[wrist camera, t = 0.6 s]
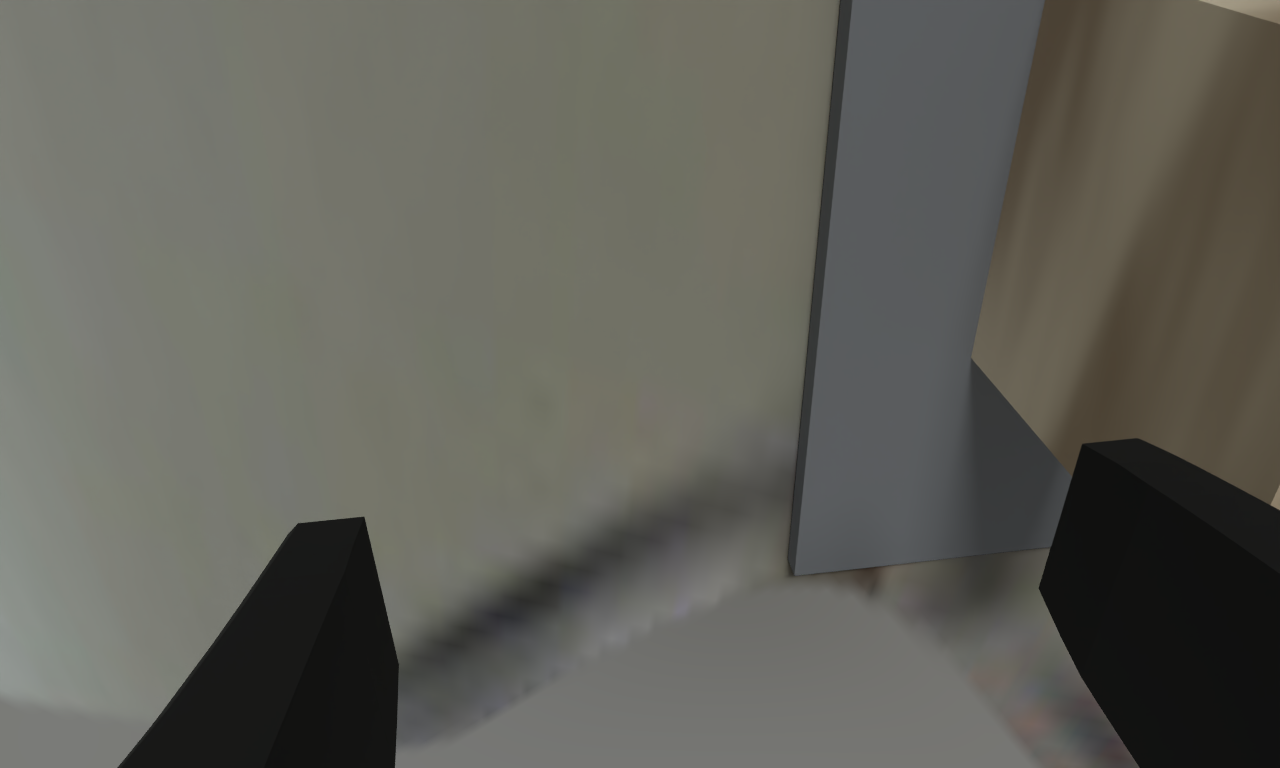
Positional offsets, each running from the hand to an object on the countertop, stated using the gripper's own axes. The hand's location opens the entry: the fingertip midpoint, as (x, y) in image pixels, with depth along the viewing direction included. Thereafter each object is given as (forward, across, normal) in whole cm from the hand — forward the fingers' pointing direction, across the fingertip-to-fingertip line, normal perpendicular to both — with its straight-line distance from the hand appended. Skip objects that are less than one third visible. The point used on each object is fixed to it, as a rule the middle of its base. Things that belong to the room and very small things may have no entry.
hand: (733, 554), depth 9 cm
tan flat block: (+9, -9, 0) cm, 13 cm away
